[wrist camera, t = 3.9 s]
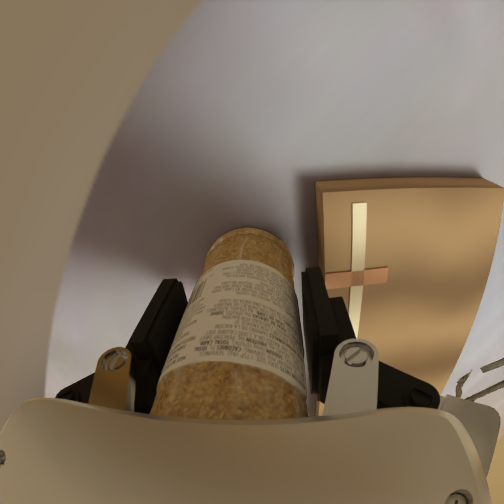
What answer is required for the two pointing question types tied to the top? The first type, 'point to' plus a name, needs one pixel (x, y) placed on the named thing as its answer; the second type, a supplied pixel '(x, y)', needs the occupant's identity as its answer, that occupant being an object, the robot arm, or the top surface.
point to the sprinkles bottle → (238, 337)
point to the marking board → (409, 263)
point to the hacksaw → (486, 391)
